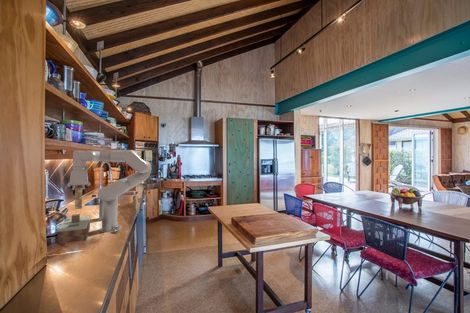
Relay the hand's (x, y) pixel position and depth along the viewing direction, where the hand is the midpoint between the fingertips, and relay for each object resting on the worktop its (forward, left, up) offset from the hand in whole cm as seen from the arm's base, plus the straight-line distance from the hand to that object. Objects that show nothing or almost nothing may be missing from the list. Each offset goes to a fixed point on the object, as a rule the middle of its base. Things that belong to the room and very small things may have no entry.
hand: (78, 195), depth 159 cm
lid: (-6, +8, -17) cm, 20 cm away
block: (0, 0, -9) cm, 9 cm away
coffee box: (+6, -32, -26) cm, 42 cm away
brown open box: (-6, +8, -25) cm, 27 cm away
